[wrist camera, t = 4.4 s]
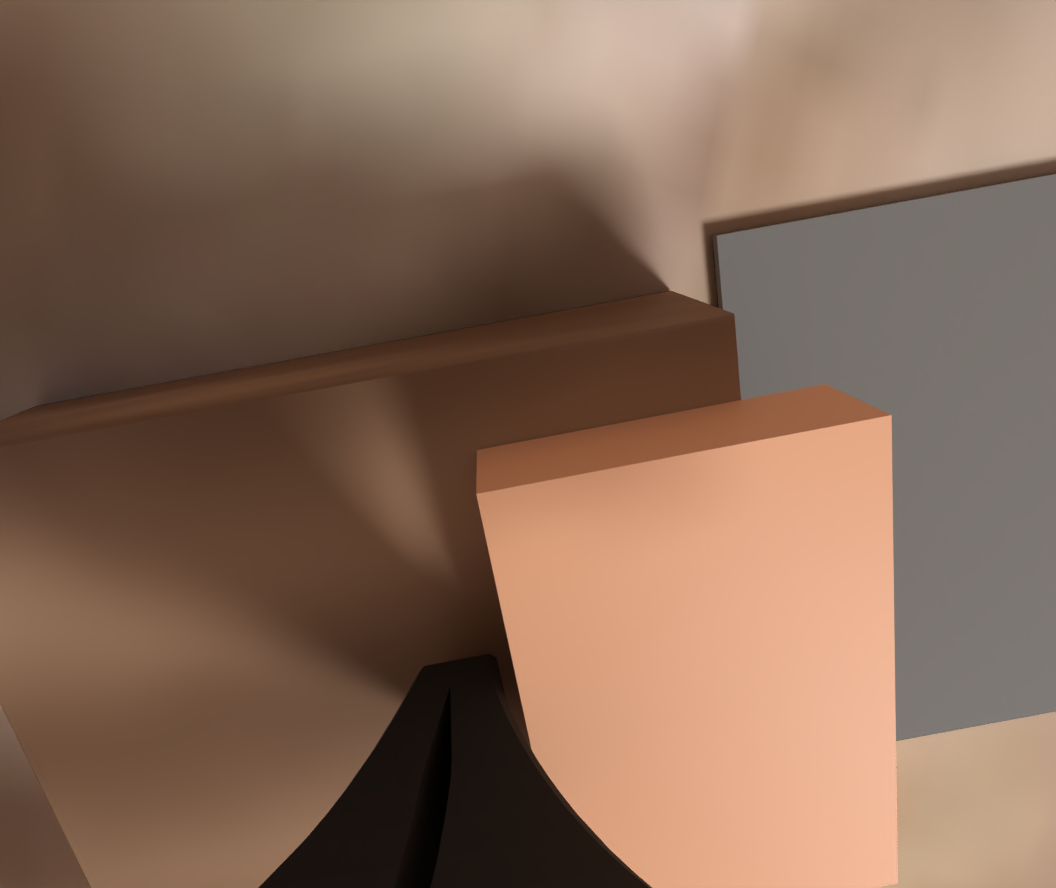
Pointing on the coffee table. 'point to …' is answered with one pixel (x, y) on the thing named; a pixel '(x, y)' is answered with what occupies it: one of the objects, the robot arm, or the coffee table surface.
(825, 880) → the peach rectangular block
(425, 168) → the coffee table surface
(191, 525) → the tan flat block
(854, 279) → the mat
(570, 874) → the robot arm
